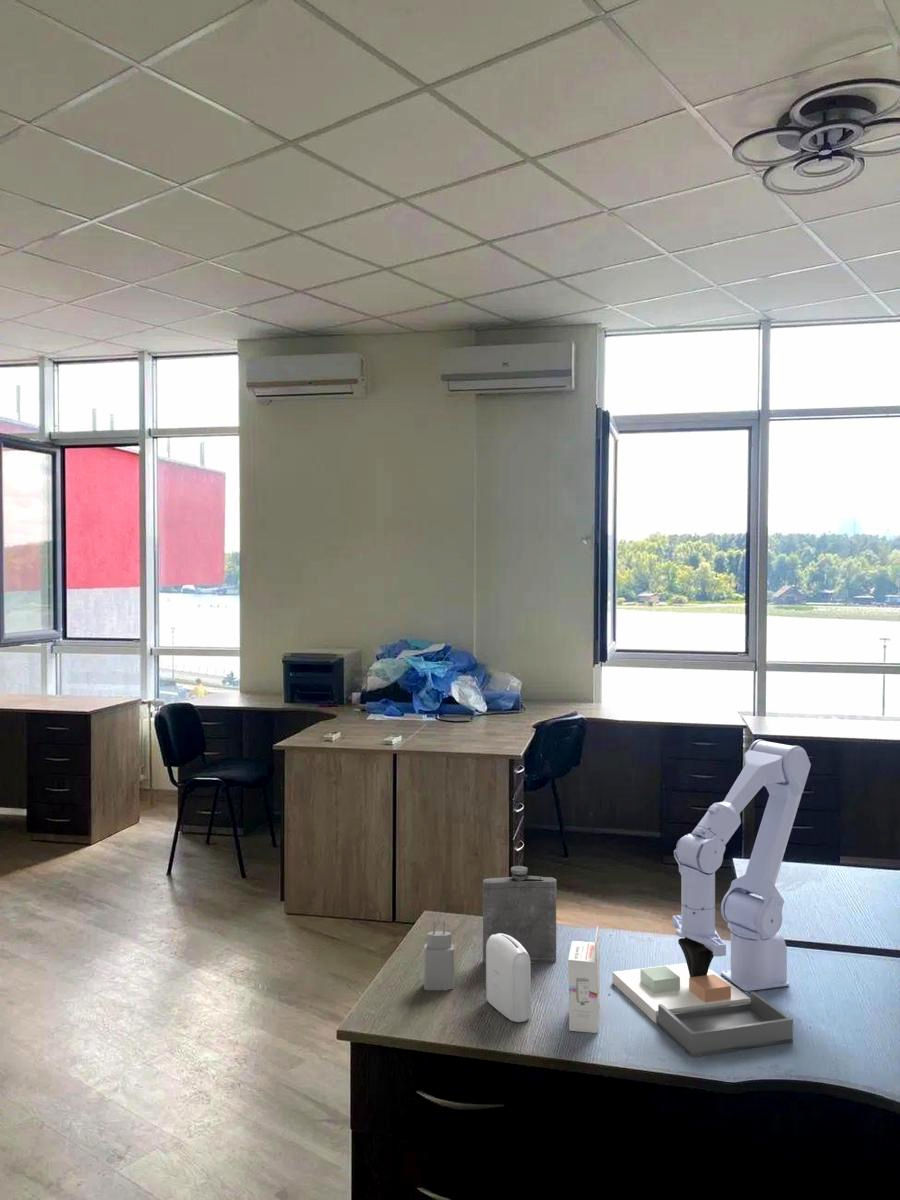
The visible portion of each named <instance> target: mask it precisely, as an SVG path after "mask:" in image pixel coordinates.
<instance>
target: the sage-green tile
mask: <svg viewBox="0 0 900 1200" xmlns="http://www.w3.org/2000/svg"><path fill="white" fill-rule="evenodd" d="M660 966H661V967H657V966H652V967H653V968H649V967H644V968H645V969H640V968H639V969H640V981H641V982H642V983H643V984H644V985H645V986H646V987H647V988H649V989H650V990H651V991H652V992H653V993H661V992H669V991H676V990H680V977H679V976H678V975H676V974H675V973H674V972H672V971H671V970H670V969H669V968H667V967H666V966H665V965H660Z"/></svg>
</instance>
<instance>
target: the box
mask: <svg viewBox="0 0 900 1200" xmlns="http://www.w3.org/2000/svg"><path fill="white" fill-rule="evenodd" d="M749 992H750V996H749V997H750V1002H746V1003H739V1004H732V1005H725V1006H717V1007H710V1008H703V1009H696V1010H688V1011H681V1012H674V1013H671V1012H670V1011H669V1010H668V1009H667V1008H666V1007H664V1006H663V1005H662V1004H658V1015H656V1023H655V1025H657V1026H658V1027H659V1028H660V1029H661V1030H662V1031H663V1032H664V1033H665V1034H666V1035H668V1037H670V1038H671V1039H672V1040H673V1041H674V1042H675V1043H676V1044H677V1045H679V1047H680V1048H682V1050H684V1052H686V1054H687V1055H689V1056H690V1057H691V1058H694V1057H702V1056H708V1055H715V1054H720V1053H721V1054H722V1053H727V1052H734V1051H735V1052H736V1051H741V1050H748V1049H754V1048H759V1047H767V1046H772V1045H780V1044H786V1043H792V1042H794V1041H793V1040H794V1020H793V1018H792V1017H789V1015H787V1014H786V1013H784V1012H783V1011H782V1010H781V1009H779V1008H777V1007H776V1006H774V1005H773V1004H771V1003H770V1002H769V1001H767V1000H766V999H765V998H763V997H762V996H760V995H759V994H758V993H756V992H755V991H749Z"/></svg>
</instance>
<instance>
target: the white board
mask: <svg viewBox="0 0 900 1200" xmlns="http://www.w3.org/2000/svg"><path fill="white" fill-rule="evenodd" d="M661 966H662V965H658V966H656V967H661ZM664 966H666V967H667V968H669V969H670V970H671V971H672V972H674V973H675V974H676V975H678V976H679V977H680V990H676V991H669V992H661V993H653V992H652V991H651V990H650V989H649V988H647V987H646V986H645V985H644V984H643V983H642V982H641V981H640V969H645V968H646V967H642V968H633V969H632V968H631V969H625V970H624V969H623V970H616V971H612V984H613V985H614V986H615V987H616V988H617V989H618V990H620V991H621V992H622V994H624V995H625V996H626V997H627V998H628V999H629V1000H630V1001H631V1002H632V1003H633V1004H634V1005H635V1006H636V1007H638V1008H639V1009H640V1010H641V1011H642V1012H643V1013H644V1014H645V1015H646V1016H647V1017H648V1018H649V1019H650V1020H652V1021H653V1022H654V1023H655V1024H656V1015H658V1004H662V1005H663V1006H664V1007H666V1008H667V1009H668V1010H669V1011H670V1012H671V1013H674V1012H681V1011H688V1010H696V1009H703V1008H710V1007H717V1006H725V1005H732V1004H739V1003H746V1002H750V996H748V994H747V995H746V993H744V992H743V991H741V990H740V988H738V987H736V986H734V985H733V984H732V983H731V982H729V980H726V979H725V978H724V977H722V976H720V975H719V974H718V973H717V972H716V971H714V970H712V969H711V968H710V967H709V969H708V973H707V975H712V974H714V975H716V976H717V977H719V978H720V979H722V980H723V981H724V982H726V983H727V984H729V985H730V986H731V999H727V1000H720V1001H713V1002H706V1003H705V1002H704V1001H702V1000H701V999H700V998H698V997H697V996H696V995H695V994H693V993H692V992H691V991H689V978H690V975H689V970H688V966H687V962H684V963H683V962H682V963H673V964H668V965H667V964H666V965H664ZM653 967H654V966H650V967H648V968H653Z"/></svg>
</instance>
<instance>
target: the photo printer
mask: <svg viewBox="0 0 900 1200" xmlns="http://www.w3.org/2000/svg"><path fill="white" fill-rule="evenodd" d="M531 964H532V963H530V957H529V955H528V953H527V951H526V950H525V948H524V947H523V946H522V945H521V944H520V943H519V942H518V941H517V940H515V939H514V938H512V937H511V936H509V935H506V934H502V933H498V934H494V935H491V936H490V937H489V939H488V941H487V944H486V964H485V982H486V983H485V988H486V989H485V991H486V992H485V993H486V994H485V995H486V1001H487V1002H488V1003H489V1004H490V1005H491V1006H492V1007H493V1008H494V1009H496V1010H497V1011H498V1012H499V1013H501V1015H503V1016H504V1017H505V1018H507V1019H508V1020H510V1021H511V1022H514V1023H522V1022H526V1021H528V1020H529V1018H530V1017H531V1014H532V1002H531V999H532V997H531V996H532V995H531V994H532V993H531V992H532V990H531V986H532V985H531V982H532V981H531V977H532V976H531V972H532V971H531V969H532V967H531Z"/></svg>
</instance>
